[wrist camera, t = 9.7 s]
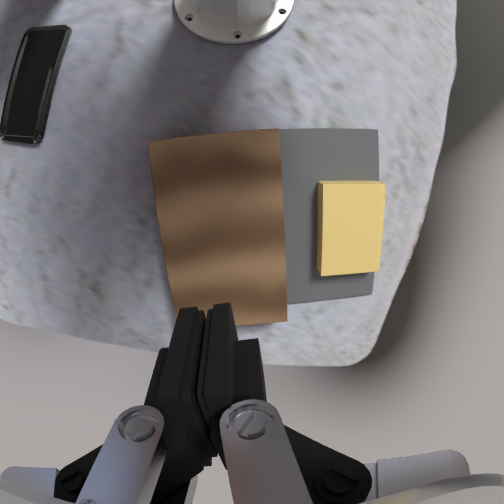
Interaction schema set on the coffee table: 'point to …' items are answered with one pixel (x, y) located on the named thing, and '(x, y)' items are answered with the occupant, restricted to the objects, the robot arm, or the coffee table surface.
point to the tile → (349, 226)
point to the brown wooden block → (223, 222)
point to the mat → (306, 203)
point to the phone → (33, 83)
